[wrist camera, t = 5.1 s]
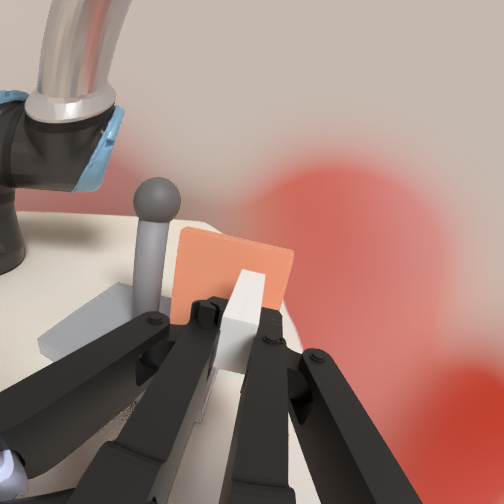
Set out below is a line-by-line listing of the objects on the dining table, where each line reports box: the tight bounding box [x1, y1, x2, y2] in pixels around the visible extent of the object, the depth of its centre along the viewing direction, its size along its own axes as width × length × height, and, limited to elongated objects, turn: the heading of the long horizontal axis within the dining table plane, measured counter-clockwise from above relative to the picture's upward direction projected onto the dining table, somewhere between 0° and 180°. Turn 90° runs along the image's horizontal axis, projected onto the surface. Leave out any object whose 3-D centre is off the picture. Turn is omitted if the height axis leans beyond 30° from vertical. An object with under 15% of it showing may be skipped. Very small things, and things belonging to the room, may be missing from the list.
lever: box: [132, 177, 294, 325], centre depth 20 cm, size 12×4×12 cm, turn 85°
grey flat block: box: [37, 282, 218, 423], centre depth 22 cm, size 17×14×2 cm
